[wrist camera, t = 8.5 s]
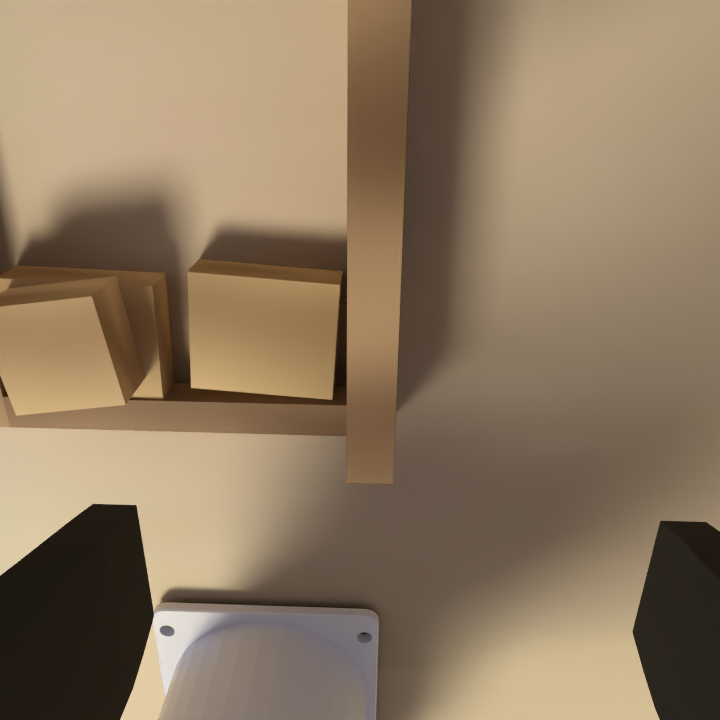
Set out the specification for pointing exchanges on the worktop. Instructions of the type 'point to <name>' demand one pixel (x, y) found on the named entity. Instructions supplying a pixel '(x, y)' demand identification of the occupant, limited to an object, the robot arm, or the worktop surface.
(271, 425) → the wooden tray
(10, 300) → the offcut
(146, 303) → the offcut
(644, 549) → the worktop surface
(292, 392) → the offcut
